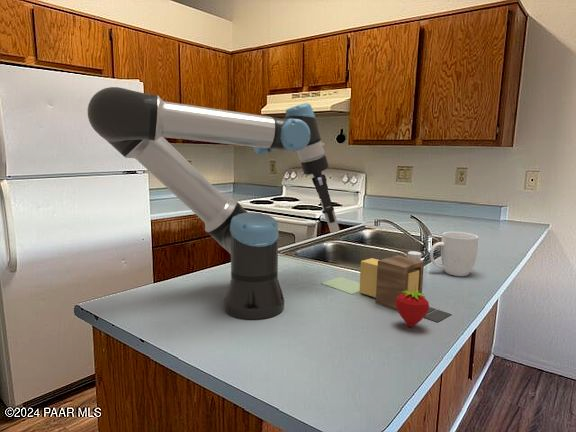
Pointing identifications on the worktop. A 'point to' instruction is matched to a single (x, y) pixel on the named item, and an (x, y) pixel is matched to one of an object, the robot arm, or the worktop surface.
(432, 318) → the dark grey flat pad
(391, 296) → the tunnel
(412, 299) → the strawberry
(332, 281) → the pad
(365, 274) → the tan rectangular block
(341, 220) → the worktop surface
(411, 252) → the pill bottle
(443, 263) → the mug
